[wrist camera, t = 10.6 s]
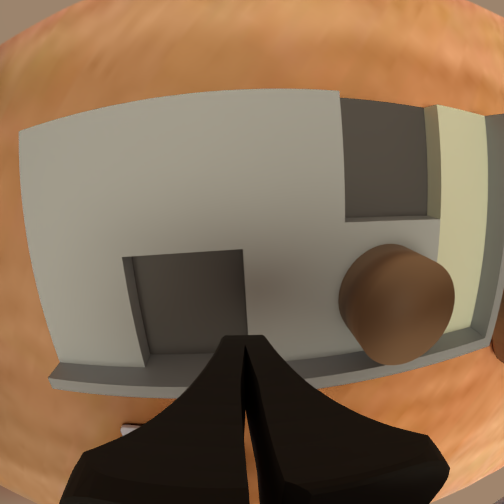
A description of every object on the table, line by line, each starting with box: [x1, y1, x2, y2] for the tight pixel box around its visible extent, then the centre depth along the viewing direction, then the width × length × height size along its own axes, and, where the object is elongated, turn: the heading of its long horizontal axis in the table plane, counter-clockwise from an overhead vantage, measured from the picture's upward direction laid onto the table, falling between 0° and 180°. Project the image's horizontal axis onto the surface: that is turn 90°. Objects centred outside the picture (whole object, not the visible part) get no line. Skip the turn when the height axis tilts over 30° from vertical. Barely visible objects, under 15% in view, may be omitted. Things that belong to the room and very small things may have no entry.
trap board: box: [19, 89, 504, 398], centre depth 15 cm, size 15×28×3 cm, turn 93°
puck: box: [338, 244, 455, 365], centre depth 14 cm, size 6×6×3 cm
